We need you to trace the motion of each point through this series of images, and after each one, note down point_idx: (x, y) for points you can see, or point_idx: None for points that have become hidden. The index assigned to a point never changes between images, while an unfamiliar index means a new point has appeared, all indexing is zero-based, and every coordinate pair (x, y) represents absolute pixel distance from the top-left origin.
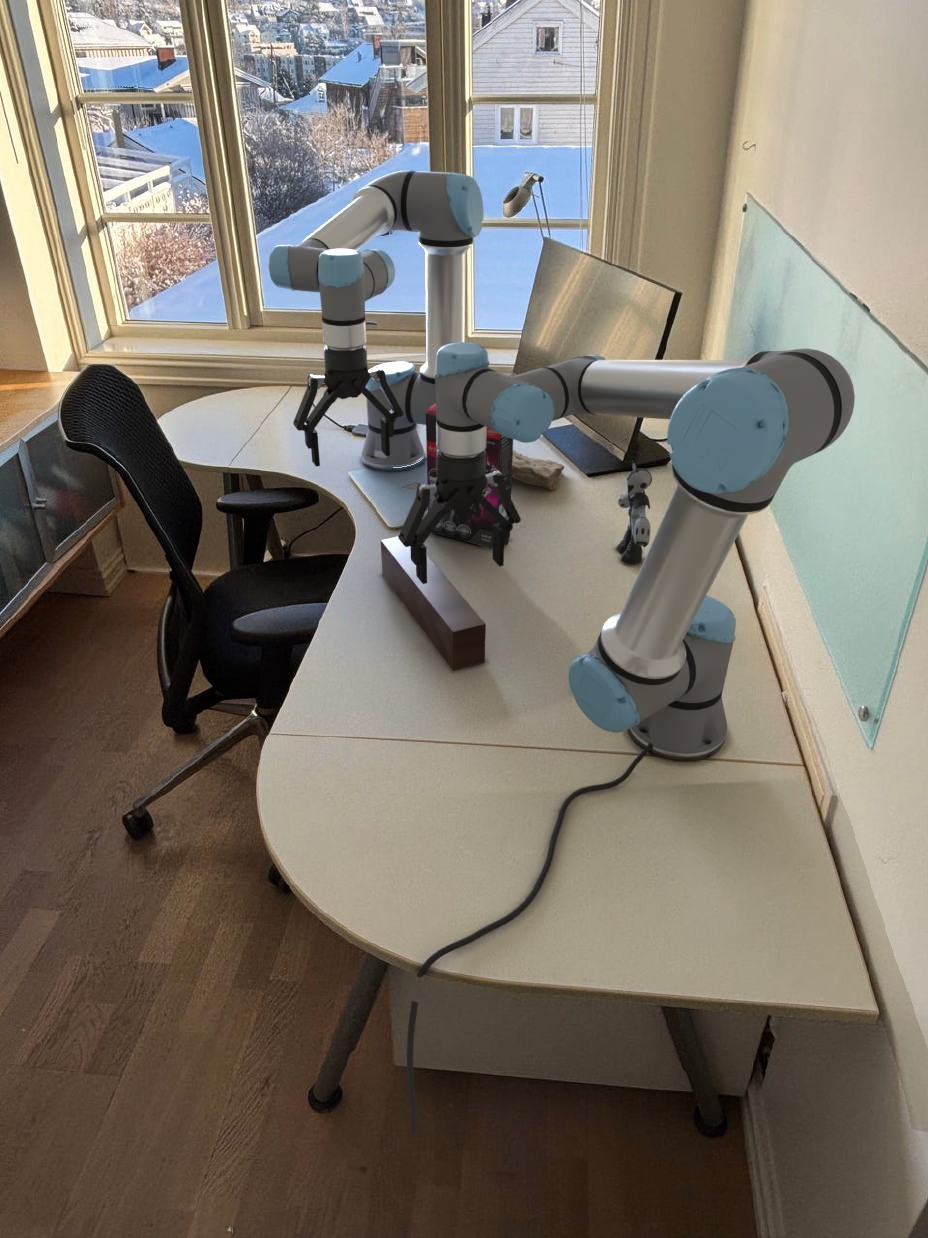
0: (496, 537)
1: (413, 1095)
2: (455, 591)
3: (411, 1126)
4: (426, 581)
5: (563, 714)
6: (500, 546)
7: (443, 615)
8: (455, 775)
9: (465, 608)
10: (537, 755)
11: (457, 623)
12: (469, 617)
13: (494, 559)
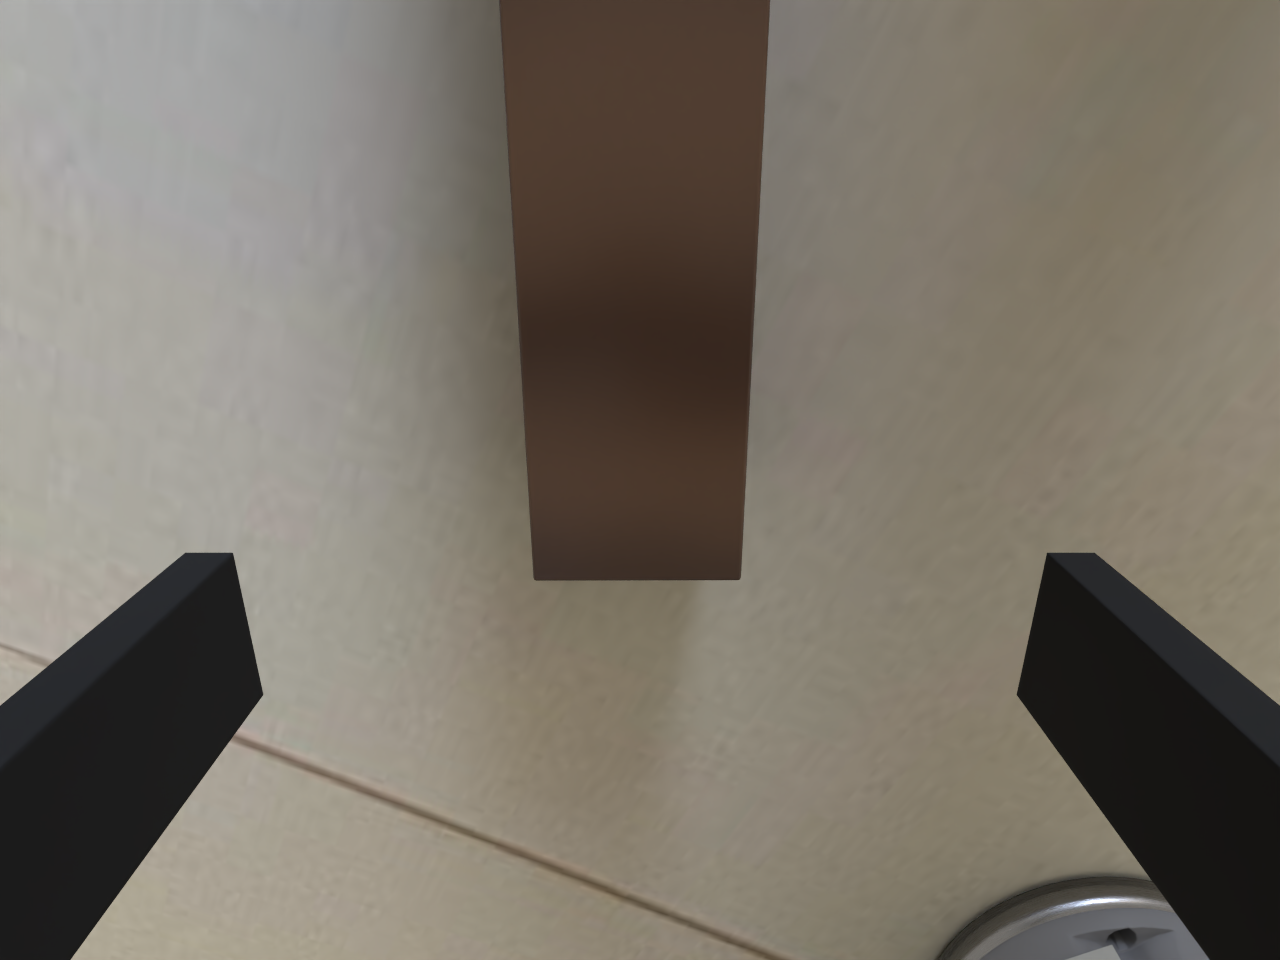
0: (1240, 858)
1: None
2: (741, 161)
3: None
4: (249, 703)
5: (818, 827)
6: (1157, 880)
7: (543, 409)
8: (378, 915)
9: (705, 394)
10: (640, 931)
11: (590, 519)
12: (684, 489)
13: (1048, 608)
